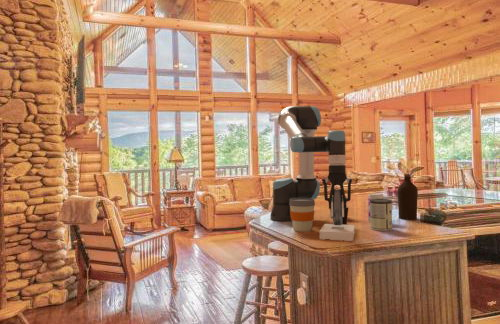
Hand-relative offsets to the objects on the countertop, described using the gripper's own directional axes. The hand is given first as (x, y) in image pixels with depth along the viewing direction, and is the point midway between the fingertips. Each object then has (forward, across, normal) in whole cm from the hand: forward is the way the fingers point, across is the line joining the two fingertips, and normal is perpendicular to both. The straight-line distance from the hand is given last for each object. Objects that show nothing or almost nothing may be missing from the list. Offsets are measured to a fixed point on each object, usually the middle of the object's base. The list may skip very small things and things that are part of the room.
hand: (337, 216), depth 170 cm
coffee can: (+9, +19, +21) cm, 30 cm away
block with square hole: (+9, 0, 0) cm, 9 cm away
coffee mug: (+9, -1, +24) cm, 26 cm away
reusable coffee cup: (+9, -18, +10) cm, 23 cm away
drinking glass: (+9, -4, +49) cm, 50 cm away
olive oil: (+9, +34, +55) cm, 65 cm away
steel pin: (+4, 0, 0) cm, 4 cm away
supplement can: (+9, +17, +40) cm, 44 cm away
